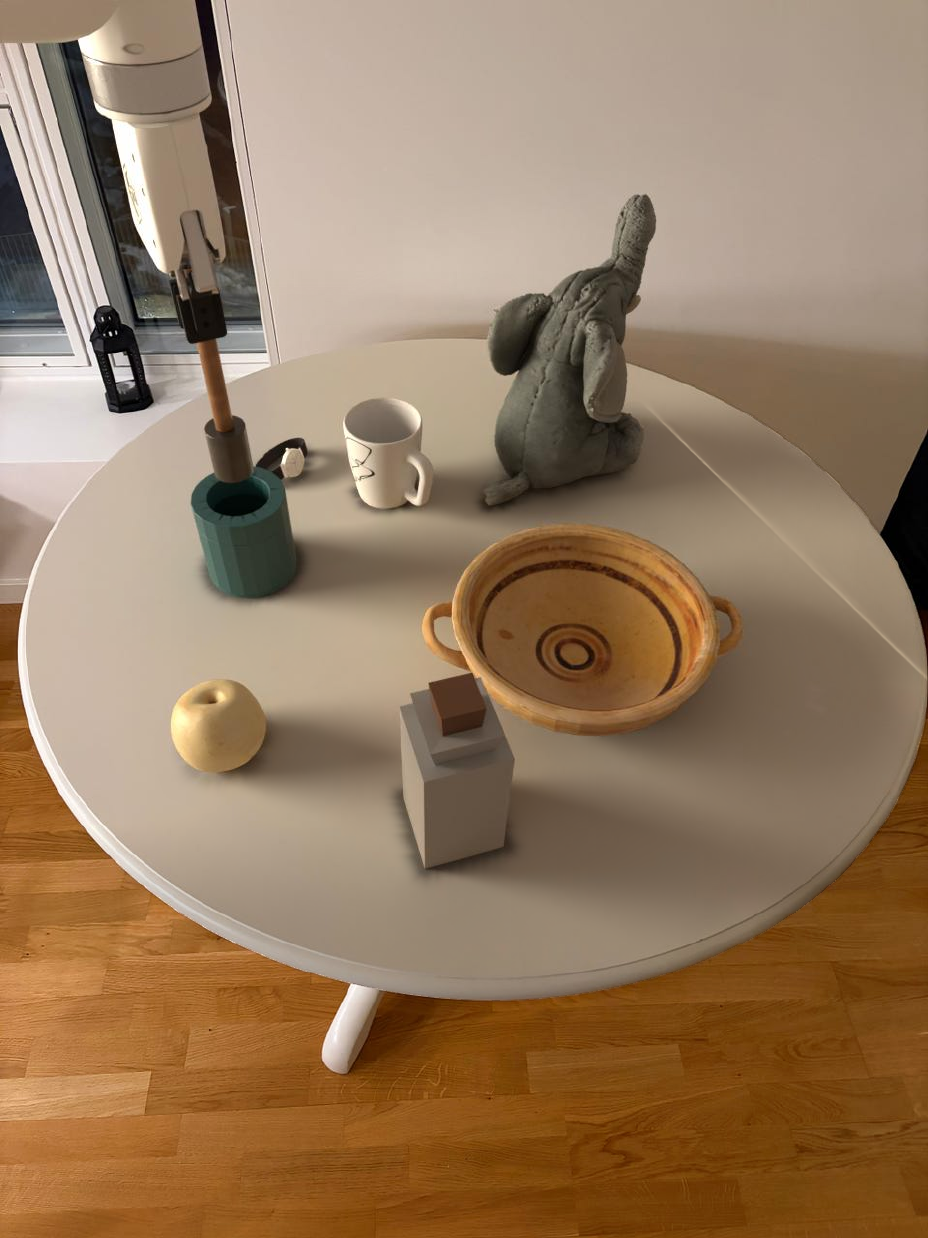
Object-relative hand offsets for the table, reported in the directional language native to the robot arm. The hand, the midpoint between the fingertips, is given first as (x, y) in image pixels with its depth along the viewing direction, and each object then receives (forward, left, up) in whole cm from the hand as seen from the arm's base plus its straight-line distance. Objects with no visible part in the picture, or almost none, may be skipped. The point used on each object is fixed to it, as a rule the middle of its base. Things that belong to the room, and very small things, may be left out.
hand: (203, 329), depth 72 cm
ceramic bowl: (+24, -25, -29) cm, 45 cm away
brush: (0, 0, -15) cm, 15 cm away
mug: (+18, +5, -29) cm, 35 cm away
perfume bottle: (+6, -35, -29) cm, 45 cm away
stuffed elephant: (+39, +4, -29) cm, 49 cm away
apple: (-9, -19, -29) cm, 36 cm away
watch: (+8, +15, -29) cm, 34 cm away
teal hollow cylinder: (0, +1, -29) cm, 29 cm away
